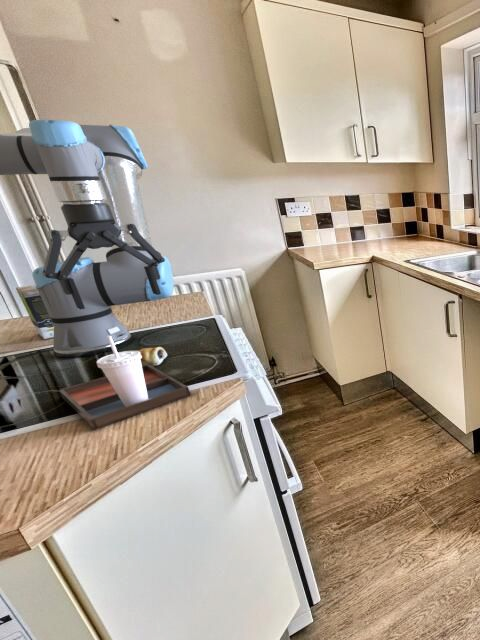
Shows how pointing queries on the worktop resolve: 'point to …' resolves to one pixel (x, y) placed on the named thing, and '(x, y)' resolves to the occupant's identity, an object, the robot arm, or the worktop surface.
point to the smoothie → (125, 374)
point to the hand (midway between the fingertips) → (121, 300)
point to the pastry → (152, 356)
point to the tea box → (36, 310)
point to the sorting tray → (106, 407)
